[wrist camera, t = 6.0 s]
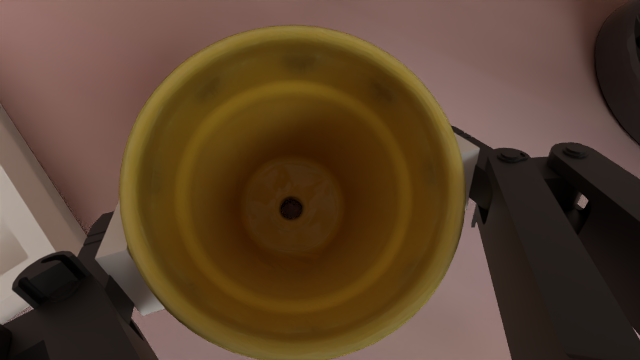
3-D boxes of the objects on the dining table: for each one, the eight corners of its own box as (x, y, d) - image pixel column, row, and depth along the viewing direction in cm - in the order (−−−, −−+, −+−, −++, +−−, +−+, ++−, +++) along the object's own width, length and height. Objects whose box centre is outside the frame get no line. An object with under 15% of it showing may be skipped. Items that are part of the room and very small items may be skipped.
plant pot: (306, 337, 17) (339, 461, 7) (165, 223, 17) (21, 200, 8) (405, 196, 19) (525, 152, 10) (280, 98, 20) (280, -37, 10)
